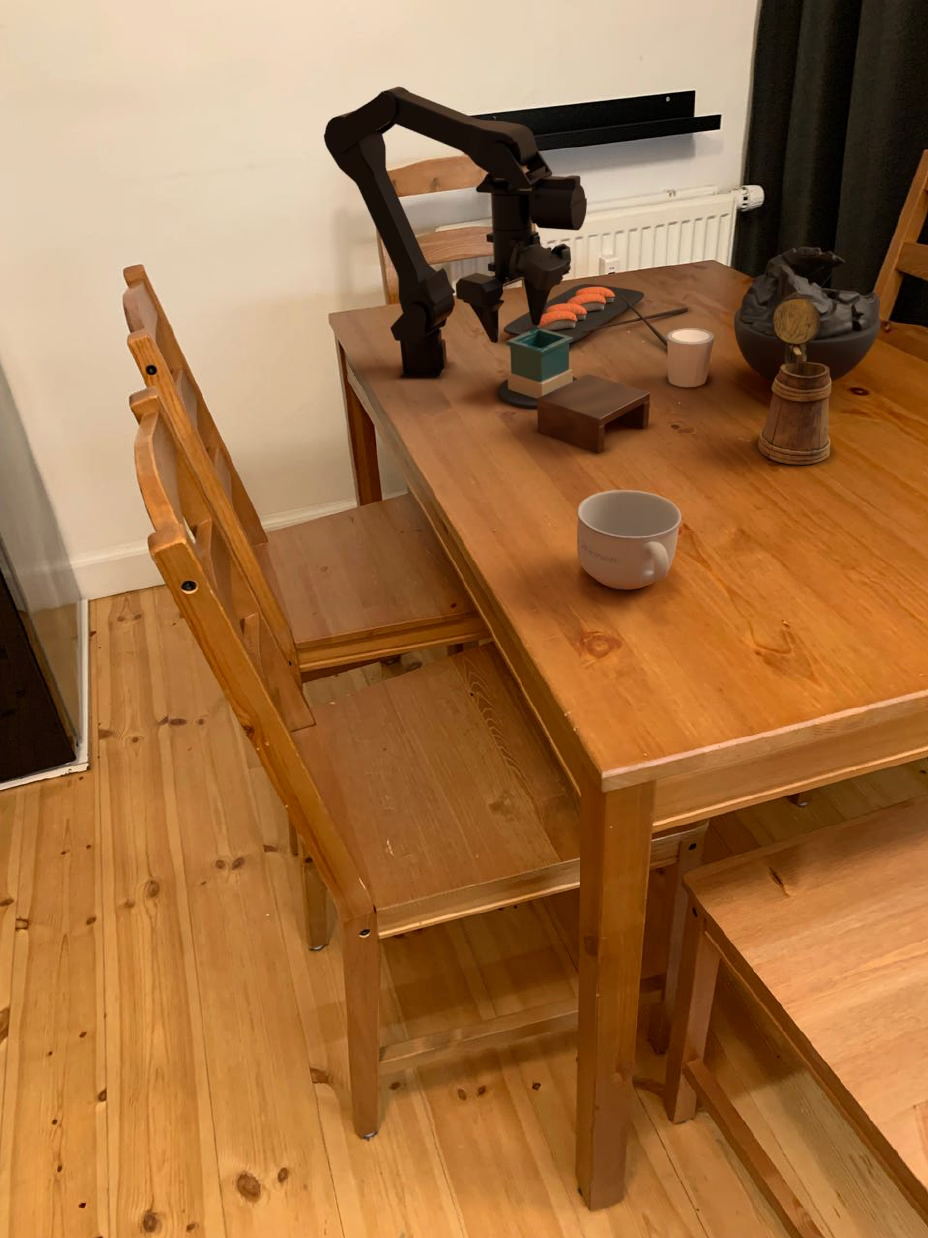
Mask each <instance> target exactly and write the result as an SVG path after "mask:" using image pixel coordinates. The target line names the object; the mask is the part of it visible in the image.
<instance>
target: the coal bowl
mask: <svg viewBox="0 0 928 1238" xmlns="http://www.w3.org/2000/svg"><path fill="white" fill-rule="evenodd" d="M845 263H846V261H845V260H844V259H843V258H841V257H840V256H837V255H836V254H835V253H834V252H833V251H831V250H829V251H826V252H822V250H821V248H820V247H809V246H801V247H799V248H797V249H796V248H795V247H792V248H790V249H789V250H787V251H785V252H783V253H782V254H778V255H776V256H775V257H773V258H771V259H769V260H768V261H767V264H766V268H765V271H764V274H761V275H760V274H759V275H758V276H755V277H754V278H753V279H752V280H751V281H752V284H751V285H750V286H749V288H748V289H747V291H746V293H745V294H744V295H743V297H742V298H741V306H740V308H738V309H737V310H736V312H735V314H734V319H733V326H734V335H735V339H736V344H737V346H738V349H739V351H740V353H741V356H742V357H743V358H744V360H745V362H746V363H747V364H748V366H749V367H750V368H751V369H752V370H753V371H754V372H755V373H756V374H757V375H759V376H760V377H762V378H763V379H765V380H766V381H768V382H770V383H772V384H773V383H774V380H775V378H776V376H777V375H778V374H779V370H780V367H781V366H782V365H783V364H786V362H785V346H784V345H783V344H782V343H781V342H779V341H778V340H777V338H776V337H775V335H774V333H773V322H772V318H773V313H774V310H775V308H776V307H777V305H778V304H779V303H780V302H781V301H783V300H784V299H785V298H786V297H788V296H789V295H791V294H792V293H794V292H798V293H800V294H802V295H803V296H805V297H807V298H808V299H809V300H811V301H812V302H813V303H814V305H815V306H816V308H817V310H818V312H819V316H820V325H819V331H818V334H817V335H816V336H815V338H814V339H813V340H812V341H811V342H809V343H808V344H807V345H806V351H807V360H806V362H812V363H819V364H823V365H826V366H827V367H828V368H829V369H830V378H831V383H833V382H835V381H837V380H839V379H841V378H842V377H844V376H845V375H847V374H848V373H850V372H851V371H852V370H853V369H855V368H856V367H857V366H858V365H859V364H860V363H861V362H862V361H863V360H864V359H865V357H866V356H867V354H868V353H869V352H870V351H871V349H872V347H873V346H874V343H875V341H876V339H877V336H878V334H879V331H880V328H881V324H882V321H881V318H880V307H881V299H880V298H879V295H878V294H877V292H875V291H873V292H870V293H868V294H866V295H861V294H860V293H859V292H857V291H855V290H853V291H852V290H851V291H850V290H841V289H835V288H834V289H831V288H828V287H827V288H826V287H824V285H825V284H826V283H827V282H828V281H829V279H830V277H831V276H832V275H833V274H834V272H835V270H836V269H837V268H839V267H841V266H842V265H844V264H845Z"/></svg>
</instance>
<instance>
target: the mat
mask: <svg viewBox="0 0 928 1238" xmlns="http://www.w3.org/2000/svg"><path fill="white" fill-rule="evenodd" d="M577 379H578V378H577V377H575V376H573V381H575V380H577ZM497 394H498V395H497V396H498V397H499V398H500V400H501V401H502V402H504V403H506V404H508V405H509V406H513V407H517V408H520V409H529V410H537V399H536V398H533V397H530V396H527V395H524V394H521V393H518V392H515V391H512V390H509V389H508V378H507V379H505V380H503V382H502V381H501V383H500V384H499V386H498V388H497Z"/></svg>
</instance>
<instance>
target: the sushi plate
mask: <svg viewBox="0 0 928 1238" xmlns="http://www.w3.org/2000/svg"><path fill="white" fill-rule="evenodd" d="M644 298H645V293H644V292H642V291H639V290H636V289H631V288H623V287H618V286H617V287H616V286H610V285H604V284H603V285H602V284H594V283H593V284H592V283H582V284H579V285H576V286H573V287H571V288H569V289H567V290H565V291H563V292H562V293H560V294H558V295H557V296H554V297H553V298H551V299H549V300H547V302H546V305H545V308H544V311H543V314H542V318H541V321H540V324H539V325H538V326H535V325H533V324H532V320H531V317H530V312H529V311H528V312H526V313H524V314H523V315H521V316H519V317H517V318H515V319H514V320H512V321H510V322H509V323H508V324H507V325H505V326H504V328H503V332H504V333H505V334H508V335H511V336H514V337H517V336H519V335H522V334H524V333H526V332H529V331H531V330H534V329H536V328H541V329H544V330H548V331H552V332H555V333H559V334H563V335H566V336H570V337H573V341H572V342H570V343H569V344H572V343H575V342H577V341H579V340H581V339H583V338H585V337H587V336H588V335H590V334H591V333H592V332H594V331H596V330H602V329H605V328H610V327H611V328H612V327H616V326H621V325H625V324H626V325H627V324H631V323H636V322H640V321H643V323H644V324H645V325H646V326H647V327H648V328H649V330H651V332H652V333H653V334H654V335H655V336H656V337H657V339H659V340H660V342H661V343H662V344H663V345H664V346H665V347H666V348H667V349H668V347H667V338H666V337H665V336H664V335H662V333H660V332H659V331H658V330H657V329H656V328H655V327H654V326H653V325H652V324H651V323H650V322H649V321H648V320H652V319H657V318H662V317H666V316H667V317H668V316H672V315H676V314H681V313H686V312H689V307H681V308H677V309H672V310H668V311H663V312H659V313H655V314H650V315H646V316H643V315H642V314H641V313H640V312H639V311H638V310H637V309H636V308H635V307H634V306H635V305H636V304H638V303H639V302H641V301H642V300H643V299H644ZM629 309H631V310H632V311H633V312H634V313H635V314H636V315H637V316H638V318H633V319H629V320H624V321H623V320H622V321H620V322H615V323H610V324H607V323H608V322H610V321H611V320H613V319H614V318H617V317H618V316H619V315H621V314H622V313H624V312H626V311H627V310H629ZM605 324H606V325H605Z"/></svg>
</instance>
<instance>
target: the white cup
mask: <svg viewBox="0 0 928 1238" xmlns="http://www.w3.org/2000/svg"><path fill="white" fill-rule="evenodd" d="M666 337H667V338H666V340H667V347H668V348H667V347H666V348H667V378H668V379H667V380H668V383H670V384H671V385H673V386H676V387H680V388H695V387H699V386H702V385H704V384H705V383H706V381H707V377H708V372H709V367H710V363H711V362H710V360H711V356H712V351H713V345H714V342H715V341H714V340H715V335H714V333H713V332H711V331H709V330H707V329H702V328H693V327H687V328H684V327H683V328H679V329H674V330H672V331H670V332H669V333H668V334H667V336H666Z"/></svg>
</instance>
